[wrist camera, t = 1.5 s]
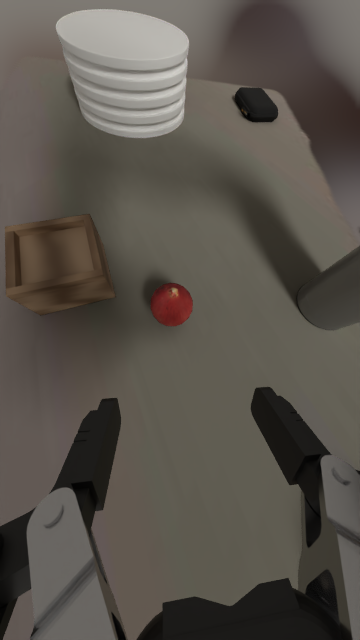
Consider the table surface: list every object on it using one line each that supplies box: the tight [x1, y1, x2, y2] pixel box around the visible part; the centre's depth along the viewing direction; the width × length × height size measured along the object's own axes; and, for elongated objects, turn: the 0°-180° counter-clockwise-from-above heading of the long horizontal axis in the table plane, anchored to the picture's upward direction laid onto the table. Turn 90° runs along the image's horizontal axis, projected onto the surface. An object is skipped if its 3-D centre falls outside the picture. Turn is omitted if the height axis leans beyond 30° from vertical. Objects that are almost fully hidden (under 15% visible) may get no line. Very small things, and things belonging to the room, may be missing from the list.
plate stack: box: [56, 9, 189, 138], centre depth 43 cm, size 28×28×12 cm
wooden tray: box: [5, 214, 116, 315], centre depth 26 cm, size 11×11×6 cm
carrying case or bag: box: [235, 87, 278, 122], centre depth 53 cm, size 11×3×15 cm
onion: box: [151, 283, 193, 326], centre depth 24 cm, size 6×6×8 cm
